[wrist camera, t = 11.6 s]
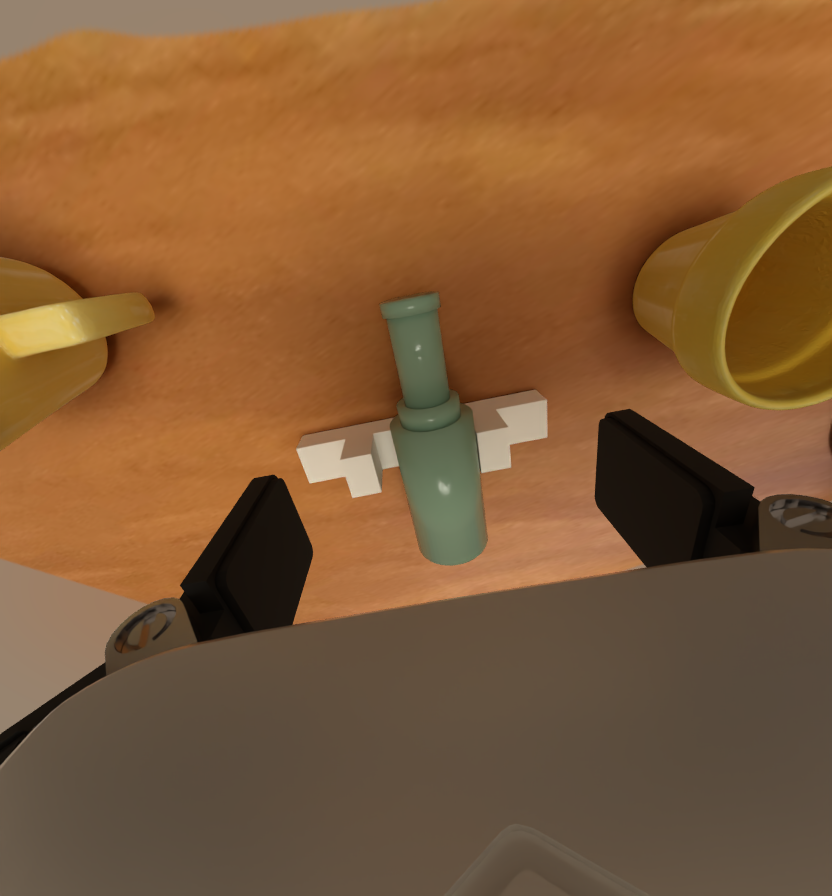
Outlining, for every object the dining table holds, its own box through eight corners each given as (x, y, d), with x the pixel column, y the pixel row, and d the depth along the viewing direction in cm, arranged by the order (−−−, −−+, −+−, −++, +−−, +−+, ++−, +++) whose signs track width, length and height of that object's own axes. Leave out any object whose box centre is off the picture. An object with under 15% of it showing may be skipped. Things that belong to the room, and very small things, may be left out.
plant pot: (679, 385, 27) (813, 443, 19) (573, 326, 25) (670, 360, 16) (794, 246, 23) (1032, 237, 15) (681, 157, 21) (889, 82, 12)
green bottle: (454, 507, 30) (417, 290, 22) (502, 536, 26) (479, 284, 18) (404, 540, 27) (343, 310, 20) (450, 577, 24) (396, 308, 16)
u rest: (535, 389, 27) (565, 415, 22) (536, 425, 28) (565, 457, 24) (302, 435, 27) (285, 470, 23) (315, 468, 29) (300, 507, 24)
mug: (11, 403, 25) (-215, 487, 16) (-80, 233, 20) (-483, 208, 11) (213, 403, 26) (113, 482, 16) (171, 239, 21) (-2, 221, 12)
